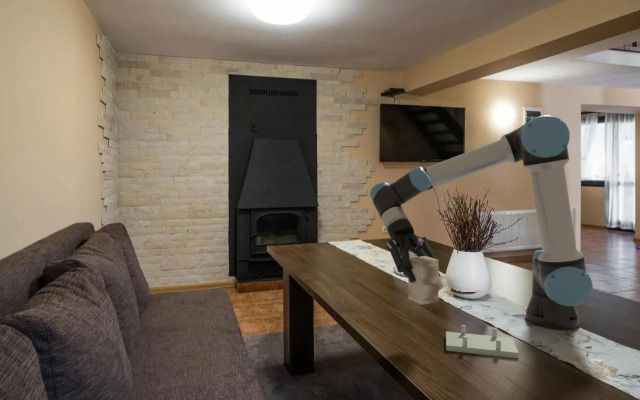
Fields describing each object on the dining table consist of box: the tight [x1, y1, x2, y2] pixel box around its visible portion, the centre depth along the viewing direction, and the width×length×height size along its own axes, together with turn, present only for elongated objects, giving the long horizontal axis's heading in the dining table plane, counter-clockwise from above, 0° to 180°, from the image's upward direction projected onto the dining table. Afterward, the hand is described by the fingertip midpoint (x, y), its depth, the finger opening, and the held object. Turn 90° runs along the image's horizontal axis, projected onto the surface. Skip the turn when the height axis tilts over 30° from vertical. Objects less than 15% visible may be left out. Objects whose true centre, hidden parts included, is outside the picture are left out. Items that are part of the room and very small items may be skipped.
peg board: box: [445, 324, 520, 359], centre depth 116 cm, size 18×10×4 cm, turn 74°
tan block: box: [407, 256, 440, 306], centre depth 119 cm, size 6×6×12 cm
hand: (431, 290), depth 116 cm, fingers closed on tan block, 6 cm apart
